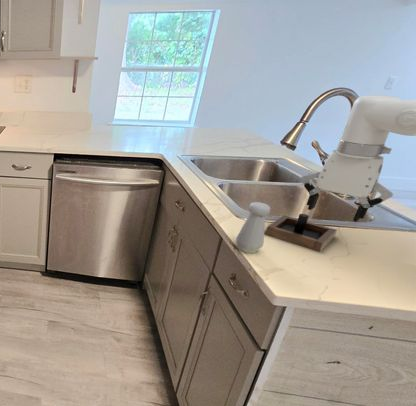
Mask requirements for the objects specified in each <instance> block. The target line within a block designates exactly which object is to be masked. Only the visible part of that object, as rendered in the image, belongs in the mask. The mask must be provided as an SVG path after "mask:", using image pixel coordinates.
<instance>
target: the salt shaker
mask: <svg viewBox="0 0 416 406" xmlns="http://www.w3.org/2000/svg"><path fill="white" fill-rule="evenodd" d="M248 212H249V214H248V216H247V218H246V219H245V222H244V223H243V224H242V227H241V229H240V231H239V233H238V234H237V236H236V238H235V242H236V244H237V247H238V250H240V251H241V252H244V253H246V254H255V253H256V252H257V251H259V250H260V249H261V248H263V246H264V242H265V227H266V216H268V215H269V214H270V212H271V206H270V205H268V204H267V203H264V202H259V201H253V202H251V203H250V204H249V206H248Z"/></svg>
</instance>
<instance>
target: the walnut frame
mask: <svg viewBox="0 0 416 406" xmlns="http://www.w3.org/2000/svg"><path fill="white" fill-rule="evenodd" d="M297 220H298V218H296V217H293V216H288V215H282V216H280V217H279V218H277V219H276V220H274V221H273V222H272V223H270V224H269V225H267V227H266V230H265V232H264V235H266V236H268V237H269V236H270V237H273V238H275V239H278V240H282V241H285V242H289V243H291V244H295V245H298V246H302V247H304V248H307V249H310V250H313V251H317V252H321V251H322V250H324V248H325V247H326V246H327V245H328V244H329V243H330V242H331V241H332V240H333V239H334V238H335V236H336V234H337V232H338V229H335V228H333V227H329V226H325V225H321V224H318V223H313V222H310V221H307V223H306V226H305V228H307V229H310V230H314V231H317V232H321V235H320V237H319V238H318V239H314V238H311V237H307V236H304V235H301V234H297V233H294V232H291V231H287V230H284V229H281V228H280V227H281V226H282V225H284V224H285V223H290V224H293V225H296V223H297Z"/></svg>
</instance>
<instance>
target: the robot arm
mask: <svg viewBox="0 0 416 406" xmlns="http://www.w3.org/2000/svg"><path fill="white" fill-rule="evenodd" d="M390 133H393V134H397V135H400V136H407V137H416V99H400V98H399V97H397V96H392V95H382V94H367V95H361V96H358V97H357V98H356V99H355V100H354V102H353V104H352V107H351V110H350V112H349V115H348V118H347V120H346V123H345V125H344V128H343V131H342V132H341V135H340V139H339V142H338V145H337V147H336V149H333V150H332V151H331V153H330V154H329V156H328V157H327V159H326V160H325V162H324V164H323V166H322V168H321V171H317V172H313V173H309V174H304V175H302V176H301V177H300V178H301V181H302V184H303V187H304V188H305V190H307V192H308V195H309V196H308V199H307V201H306V206H308V207H307V210H309V211H312V210H313V209H314V208H316V205H317V203H318V199H319V198H320V197H319V196H320V193H319V192H322V191H325V192H326V191H327V192H331V193H335V194H341V195H344V196H349V197H353V198H358V200H359V202H360V205H358V207H357V210H356V212H355V214H354V217H353V219H352V221H353V222H359V220H360V219H361V220H363V219H364V218H365V217H366V215H367V212H368V209H369V208H371V207H373V206H376V205H379V204H382V203H383V202H385V201H387V200H388V199H390V198H392V197H393V196H394V193H393V192H392V191H390V189H388V188H386V186H384V185H382V184H381V183H380V182H378V181H379V180H380V179H379V178H380V175H381V172H382V169H383V164H384V156H382V155H385V154H387V155H390V154H391V152H392V150H393V148H391V147H388V146H386V141H387V139H388V137H389V134H390ZM313 179H316V182H315V185H314V184H313V183H312V181H311V180H313ZM315 186H316V187H315ZM374 191H376V192H378V193H379V194H380V195H379V196H378V197H374V198H372V199H371V197H370V194H373V193H374Z"/></svg>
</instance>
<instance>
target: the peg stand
mask: <svg viewBox="0 0 416 406" xmlns="http://www.w3.org/2000/svg"><path fill="white" fill-rule="evenodd" d="M309 217H310V215H308V214H305V213H299V214H298V218H297V219H298V220H297V223H296V225H293V224H290V223H285V224H284V225H282V226H281V227H280V228H281V229H284V230H287V231H291V232H294V233H297V234H301V235H304V236H307V237H311V238H314V239H317V240H318V239H319V238H320V237H321V236H320V235H321V232H317V231H314V230H310V229H307V228H305V226H306V223H307V222H309Z"/></svg>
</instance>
